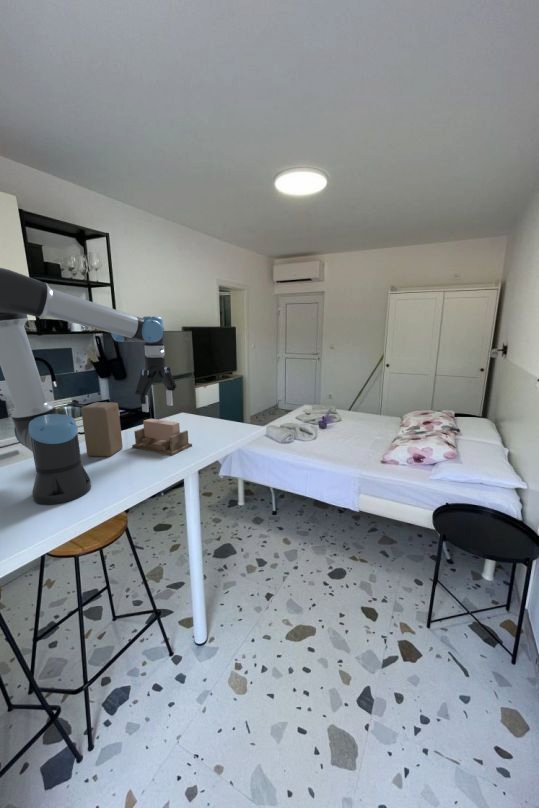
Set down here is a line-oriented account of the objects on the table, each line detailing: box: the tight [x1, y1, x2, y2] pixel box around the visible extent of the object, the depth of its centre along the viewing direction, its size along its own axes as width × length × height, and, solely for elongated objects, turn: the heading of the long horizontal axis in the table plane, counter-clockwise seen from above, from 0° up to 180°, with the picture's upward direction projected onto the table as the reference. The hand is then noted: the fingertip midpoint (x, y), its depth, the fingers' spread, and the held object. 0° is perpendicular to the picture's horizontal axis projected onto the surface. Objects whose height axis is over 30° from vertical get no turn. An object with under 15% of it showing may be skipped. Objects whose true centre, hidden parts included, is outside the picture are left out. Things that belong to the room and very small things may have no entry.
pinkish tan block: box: [142, 418, 181, 441], centre depth 139 cm, size 4×16×7 cm, turn 64°
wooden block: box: [80, 401, 123, 458], centre depth 132 cm, size 10×10×20 cm
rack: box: [132, 427, 193, 456], centre depth 140 cm, size 12×22×7 cm, turn 64°
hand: (158, 408), depth 137 cm, fingers open, 13 cm apart
